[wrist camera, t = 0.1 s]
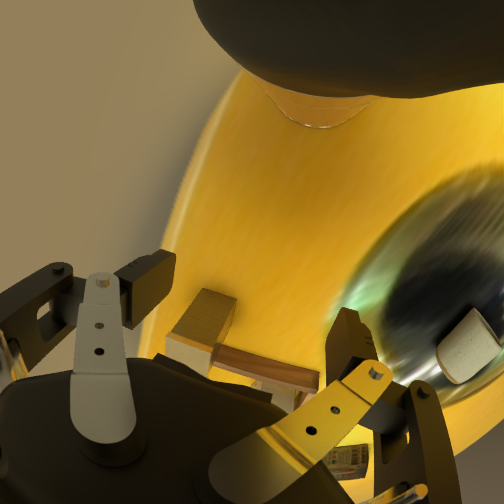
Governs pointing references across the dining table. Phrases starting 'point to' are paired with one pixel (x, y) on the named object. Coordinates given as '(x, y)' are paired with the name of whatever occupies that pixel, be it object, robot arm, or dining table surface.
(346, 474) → the beverage carton
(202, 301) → the tea tin
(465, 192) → the dining table surface
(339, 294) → the dining table surface
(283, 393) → the skincare box
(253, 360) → the crate
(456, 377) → the ceramic mug
